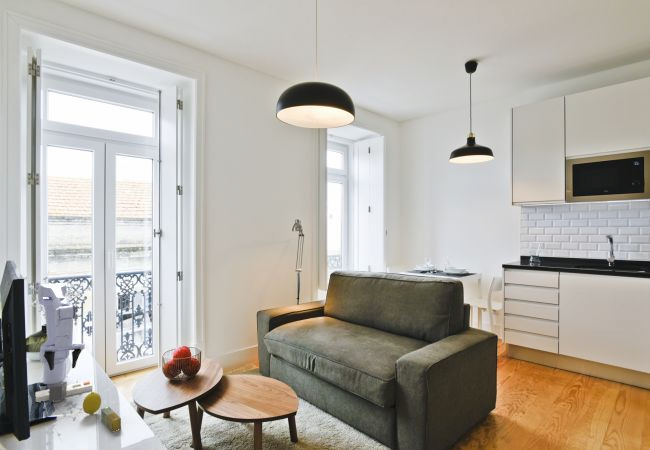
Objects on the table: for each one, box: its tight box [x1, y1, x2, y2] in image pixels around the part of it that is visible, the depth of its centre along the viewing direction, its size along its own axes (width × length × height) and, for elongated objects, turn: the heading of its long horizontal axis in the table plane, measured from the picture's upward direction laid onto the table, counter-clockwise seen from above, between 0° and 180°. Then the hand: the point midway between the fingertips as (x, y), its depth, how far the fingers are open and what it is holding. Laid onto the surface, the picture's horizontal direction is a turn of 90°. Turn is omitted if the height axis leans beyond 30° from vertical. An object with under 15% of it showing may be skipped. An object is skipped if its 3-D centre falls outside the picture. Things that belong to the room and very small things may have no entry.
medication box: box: [100, 406, 122, 432], centre depth 121 cm, size 12×3×4 cm, turn 48°
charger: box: [48, 381, 68, 403], centre depth 137 cm, size 5×4×7 cm
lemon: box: [82, 391, 102, 416], centre depth 127 cm, size 6×6×8 cm
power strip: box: [34, 380, 93, 403], centre depth 144 cm, size 7×18×4 cm, turn 132°
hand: (62, 368), depth 147 cm, fingers open, 7 cm apart
